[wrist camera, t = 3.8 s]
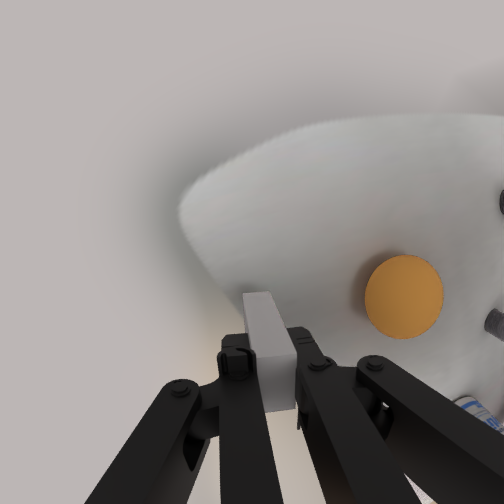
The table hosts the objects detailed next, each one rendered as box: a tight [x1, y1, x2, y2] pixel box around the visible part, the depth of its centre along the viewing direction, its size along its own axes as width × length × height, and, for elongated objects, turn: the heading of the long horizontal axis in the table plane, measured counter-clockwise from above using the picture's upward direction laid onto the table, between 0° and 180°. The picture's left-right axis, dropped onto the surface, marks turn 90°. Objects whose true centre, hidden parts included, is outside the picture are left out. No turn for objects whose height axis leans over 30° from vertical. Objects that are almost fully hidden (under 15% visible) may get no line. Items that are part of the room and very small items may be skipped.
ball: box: [365, 255, 443, 339], centre depth 16 cm, size 6×6×6 cm
